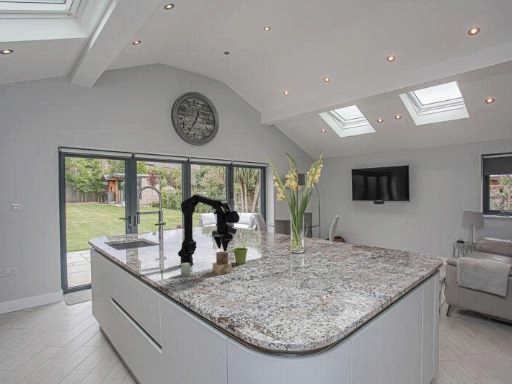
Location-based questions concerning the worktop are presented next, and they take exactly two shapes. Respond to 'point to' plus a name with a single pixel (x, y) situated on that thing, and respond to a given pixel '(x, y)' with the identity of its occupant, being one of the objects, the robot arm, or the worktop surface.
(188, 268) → the sage cylinder
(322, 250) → the worktop surface
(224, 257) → the walnut cube
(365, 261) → the worktop surface
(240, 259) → the plant pot
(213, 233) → the robot arm
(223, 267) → the oak block
